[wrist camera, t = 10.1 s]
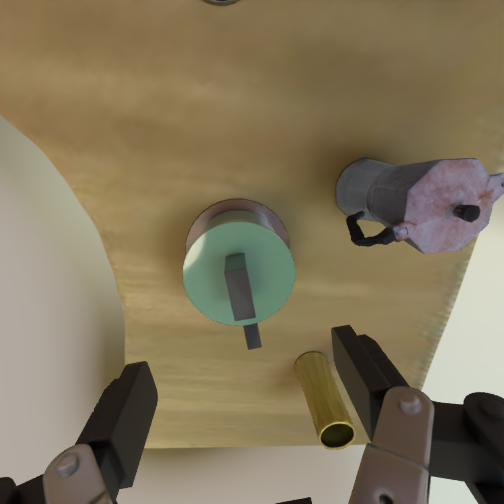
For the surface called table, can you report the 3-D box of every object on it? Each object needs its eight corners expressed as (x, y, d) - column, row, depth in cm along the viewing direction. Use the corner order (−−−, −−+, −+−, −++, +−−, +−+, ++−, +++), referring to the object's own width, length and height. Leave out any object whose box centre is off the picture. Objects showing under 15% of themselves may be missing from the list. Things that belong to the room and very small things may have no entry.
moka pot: (419, 194, 45) (555, 225, 26) (328, 242, 46) (393, 305, 27) (398, 135, 42) (535, 121, 23) (302, 189, 43) (355, 218, 24)
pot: (182, 216, 43) (159, 246, 29) (276, 199, 43) (296, 221, 29) (211, 327, 49) (202, 396, 35) (292, 312, 49) (315, 375, 35)
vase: (330, 373, 55) (362, 446, 41) (298, 382, 55) (320, 457, 41) (324, 347, 53) (355, 414, 39) (291, 356, 53) (311, 426, 39)
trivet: (180, 201, 43) (179, 202, 42) (288, 195, 44) (289, 196, 43) (192, 299, 48) (191, 301, 48) (289, 292, 49) (289, 294, 48)
